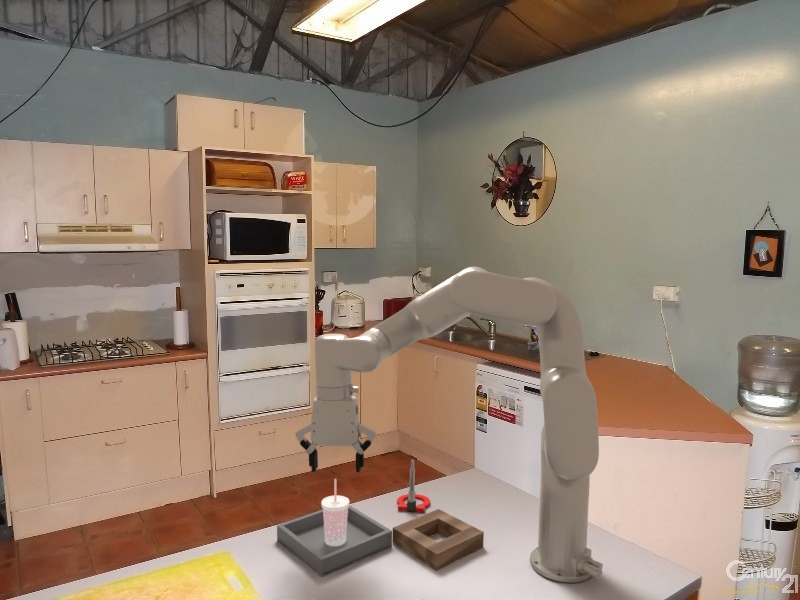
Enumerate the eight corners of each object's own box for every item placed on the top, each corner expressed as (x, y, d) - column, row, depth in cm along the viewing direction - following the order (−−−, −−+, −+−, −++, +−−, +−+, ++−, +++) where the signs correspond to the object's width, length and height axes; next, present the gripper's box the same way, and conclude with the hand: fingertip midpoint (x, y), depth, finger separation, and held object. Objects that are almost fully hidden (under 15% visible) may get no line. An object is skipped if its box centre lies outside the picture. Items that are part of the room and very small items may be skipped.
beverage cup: (339, 530, 131) (339, 471, 130) (355, 541, 126) (355, 480, 125) (316, 539, 127) (315, 478, 126) (331, 551, 122) (331, 487, 121)
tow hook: (399, 496, 151) (393, 511, 142) (400, 448, 150) (395, 459, 141) (431, 499, 150) (428, 514, 141) (433, 450, 149) (429, 462, 140)
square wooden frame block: (483, 547, 126) (483, 532, 125) (436, 570, 117) (437, 554, 116) (438, 523, 136) (438, 508, 136) (392, 542, 127) (392, 527, 127)
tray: (391, 546, 126) (392, 530, 126) (321, 576, 114) (321, 559, 114) (344, 515, 140) (344, 501, 139) (277, 540, 128) (276, 525, 128)
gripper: (376, 387, 126) (378, 463, 128) (298, 387, 128) (301, 462, 129) (372, 396, 119) (374, 477, 121) (289, 396, 120) (292, 476, 122)
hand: (336, 469), depth 125 cm, fingers open, 9 cm apart
